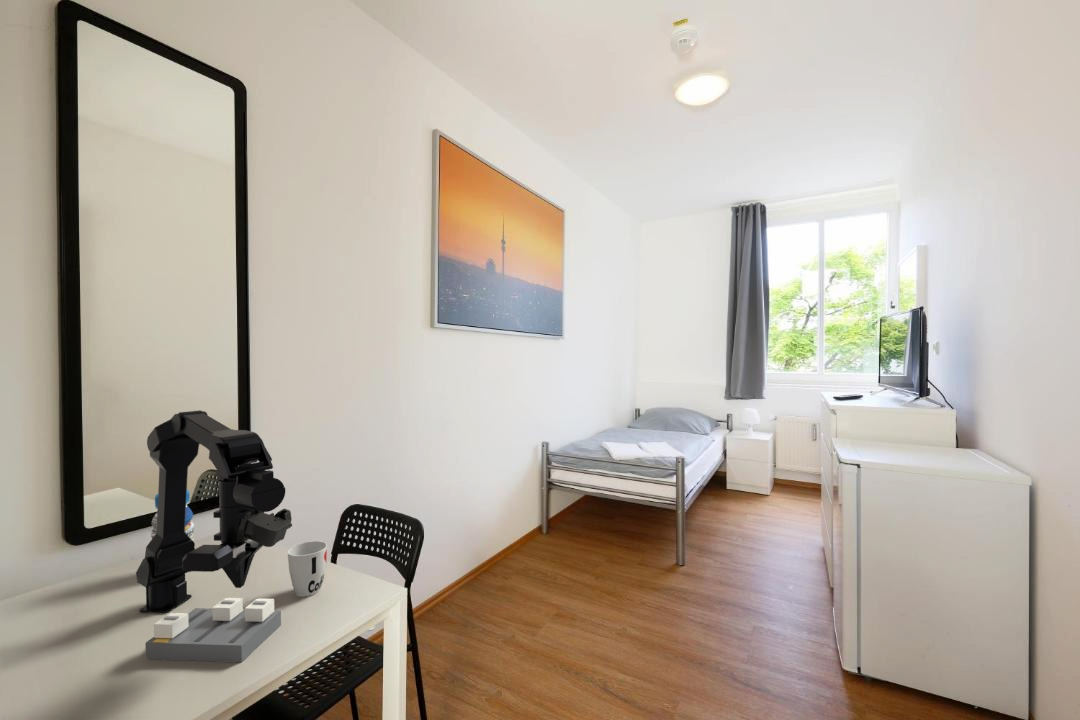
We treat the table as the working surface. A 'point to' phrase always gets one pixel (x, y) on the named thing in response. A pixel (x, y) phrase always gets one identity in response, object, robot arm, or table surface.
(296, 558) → the cup
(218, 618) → the switch middle
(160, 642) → the console
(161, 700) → the table surface
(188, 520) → the beverage bottle
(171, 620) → the switch near
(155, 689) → the table surface
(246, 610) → the switch far
